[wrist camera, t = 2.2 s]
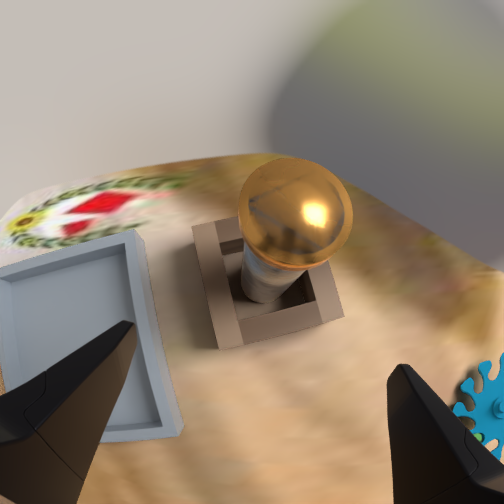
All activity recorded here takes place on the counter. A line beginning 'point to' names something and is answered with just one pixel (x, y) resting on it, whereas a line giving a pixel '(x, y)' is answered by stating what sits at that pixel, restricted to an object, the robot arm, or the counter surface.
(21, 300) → the tray
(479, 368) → the gear
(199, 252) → the collar block
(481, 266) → the counter surface
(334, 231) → the steel pin
